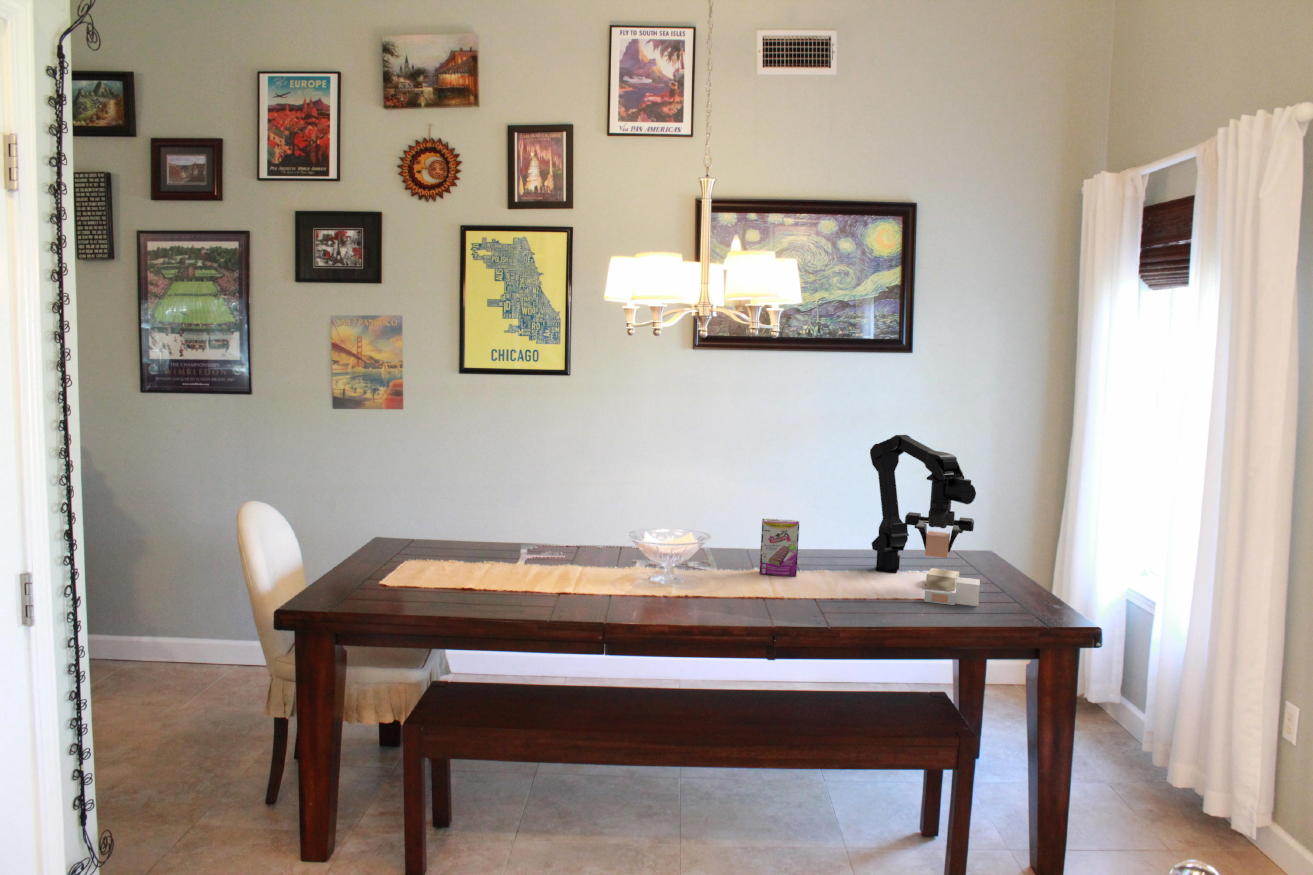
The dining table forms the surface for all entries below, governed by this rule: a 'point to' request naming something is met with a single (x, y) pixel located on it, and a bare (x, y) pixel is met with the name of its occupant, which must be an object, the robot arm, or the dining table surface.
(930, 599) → the plinth
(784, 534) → the candy bar box
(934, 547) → the terracotta cube
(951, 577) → the base block
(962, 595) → the offwhite cube
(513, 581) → the dining table surface
